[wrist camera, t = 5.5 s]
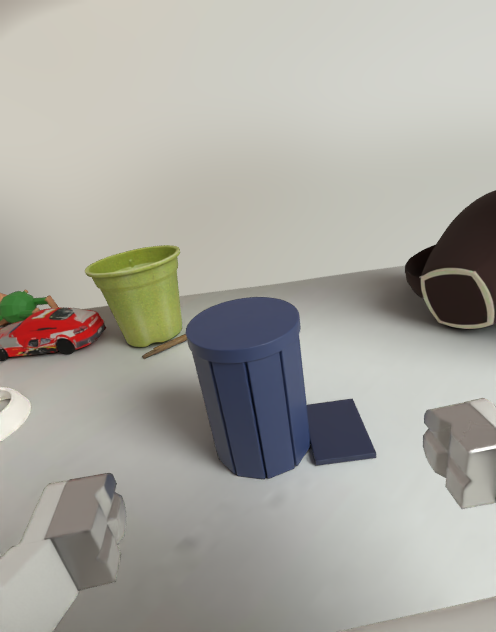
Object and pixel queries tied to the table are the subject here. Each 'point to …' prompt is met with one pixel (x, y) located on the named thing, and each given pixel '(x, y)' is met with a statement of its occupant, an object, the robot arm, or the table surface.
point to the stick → (166, 346)
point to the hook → (13, 411)
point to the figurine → (20, 306)
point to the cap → (266, 392)
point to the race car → (51, 332)
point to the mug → (460, 269)
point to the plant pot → (142, 292)
